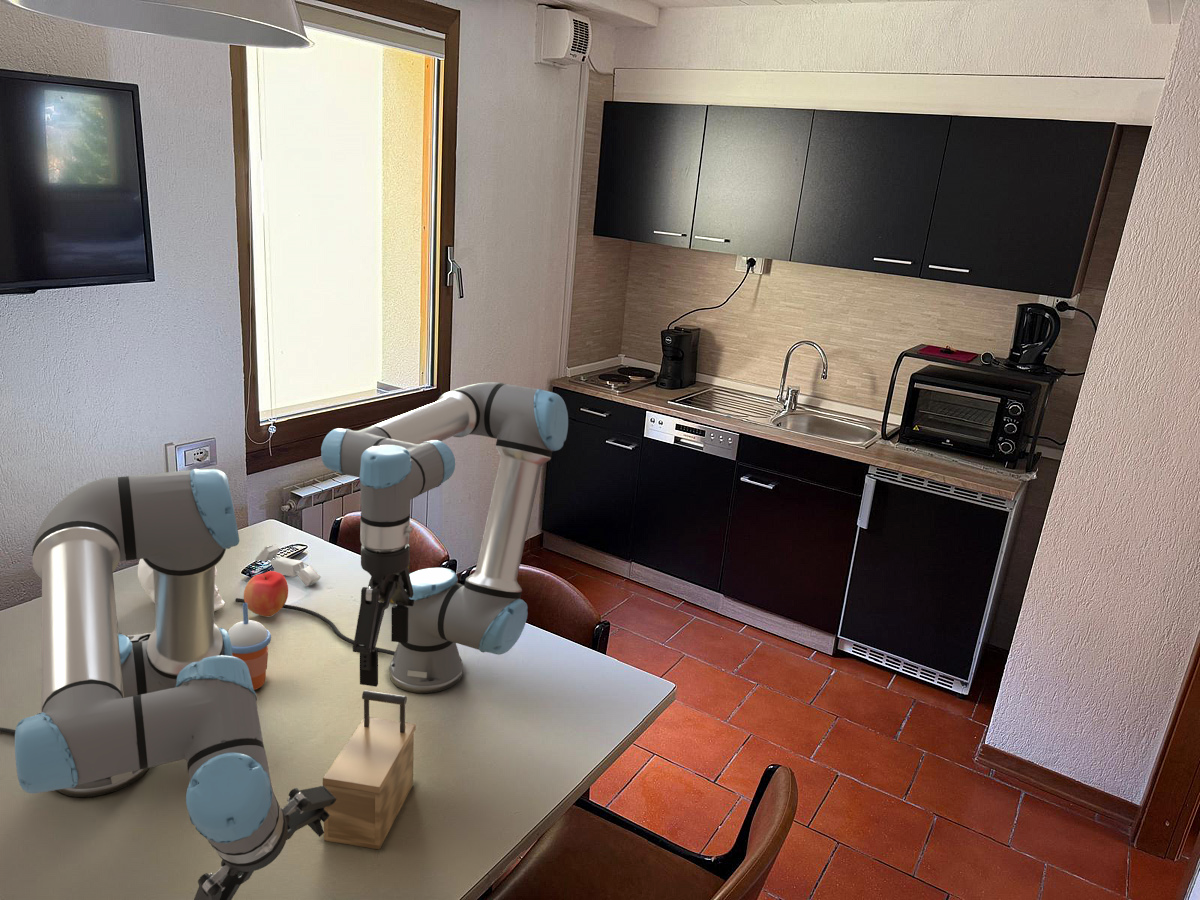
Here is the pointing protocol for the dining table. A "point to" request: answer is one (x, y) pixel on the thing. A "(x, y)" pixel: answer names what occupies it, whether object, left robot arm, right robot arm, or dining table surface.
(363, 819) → the chest
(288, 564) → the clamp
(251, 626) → the cup with straw
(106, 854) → the dining table surface
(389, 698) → the lid
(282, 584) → the apple
